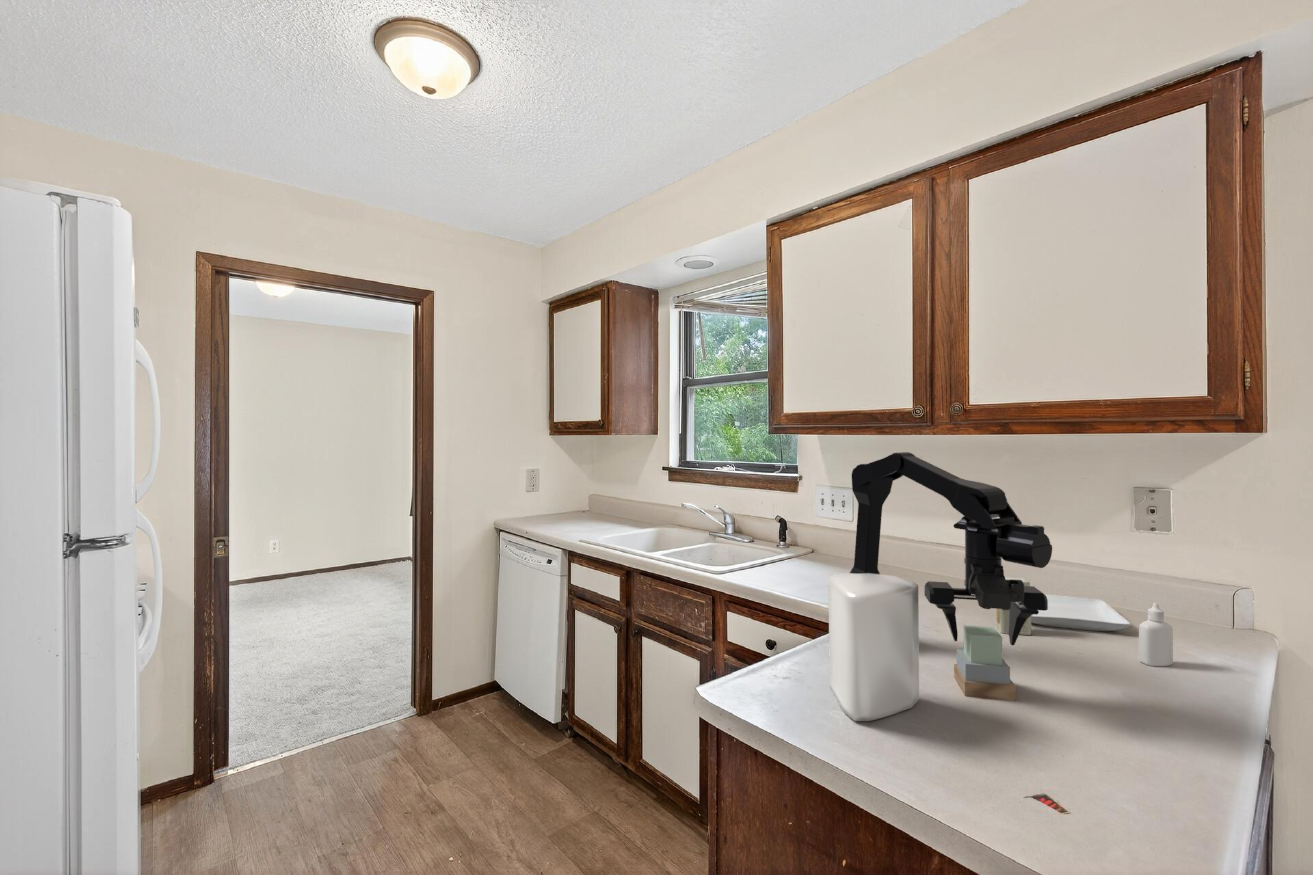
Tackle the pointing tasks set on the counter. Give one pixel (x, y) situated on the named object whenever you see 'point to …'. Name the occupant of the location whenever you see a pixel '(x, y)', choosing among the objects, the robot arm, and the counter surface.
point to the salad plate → (1079, 614)
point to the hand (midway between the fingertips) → (983, 642)
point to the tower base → (985, 688)
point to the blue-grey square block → (983, 670)
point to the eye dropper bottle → (1155, 639)
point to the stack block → (983, 645)
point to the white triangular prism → (873, 644)
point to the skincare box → (1004, 614)
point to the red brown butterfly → (1049, 802)
